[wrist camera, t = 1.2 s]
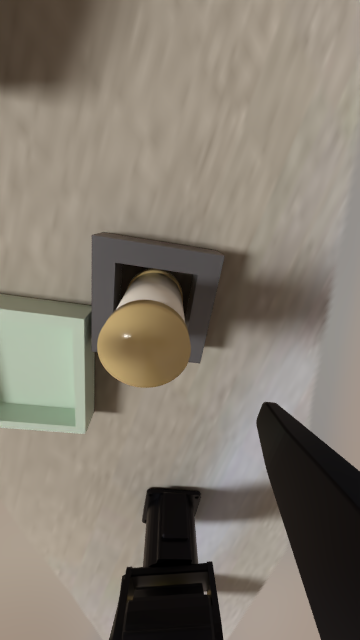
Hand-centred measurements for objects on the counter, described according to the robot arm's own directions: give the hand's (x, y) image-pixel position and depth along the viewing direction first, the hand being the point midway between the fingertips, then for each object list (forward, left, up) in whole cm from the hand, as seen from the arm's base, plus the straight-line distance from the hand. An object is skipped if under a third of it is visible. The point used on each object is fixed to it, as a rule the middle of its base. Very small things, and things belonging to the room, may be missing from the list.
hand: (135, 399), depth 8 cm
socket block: (0, 0, -11) cm, 11 cm away
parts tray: (-7, +10, -11) cm, 16 cm away
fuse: (0, 0, -11) cm, 11 cm away
